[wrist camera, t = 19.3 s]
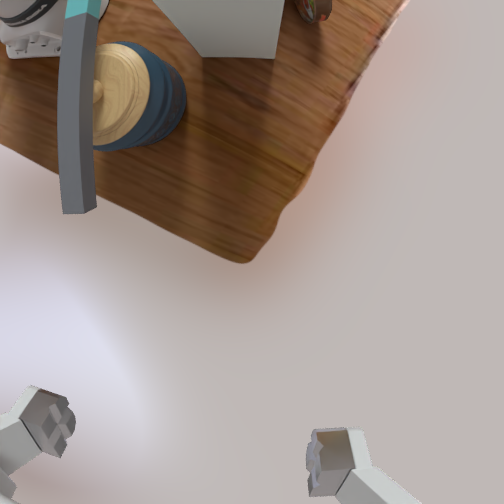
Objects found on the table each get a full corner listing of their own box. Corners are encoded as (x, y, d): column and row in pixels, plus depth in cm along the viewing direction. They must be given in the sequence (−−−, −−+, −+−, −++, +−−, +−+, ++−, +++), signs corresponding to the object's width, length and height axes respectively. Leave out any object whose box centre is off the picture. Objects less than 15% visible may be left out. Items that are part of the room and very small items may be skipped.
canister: (173, 155, 44) (123, 170, 27) (97, 135, 42) (24, 143, 26) (201, 69, 39) (165, 35, 23) (121, 54, 38) (55, 26, 21)
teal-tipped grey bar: (76, 207, 28) (63, 214, 26) (82, -7, 20) (70, -15, 18) (96, 207, 28) (84, 213, 26) (103, -14, 20) (92, -22, 18)
